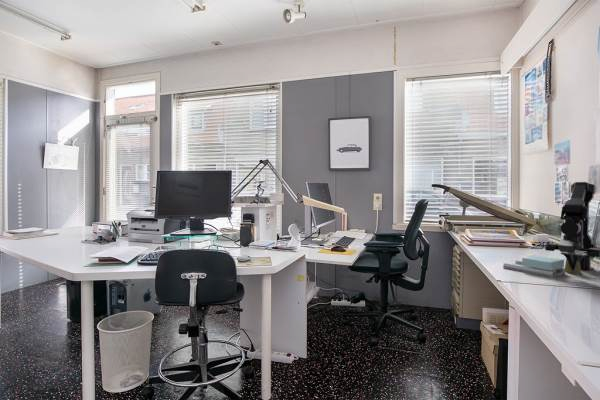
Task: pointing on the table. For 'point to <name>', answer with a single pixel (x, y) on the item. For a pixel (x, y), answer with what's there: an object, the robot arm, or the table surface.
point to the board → (534, 269)
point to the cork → (568, 270)
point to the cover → (543, 262)
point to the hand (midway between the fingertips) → (573, 270)
